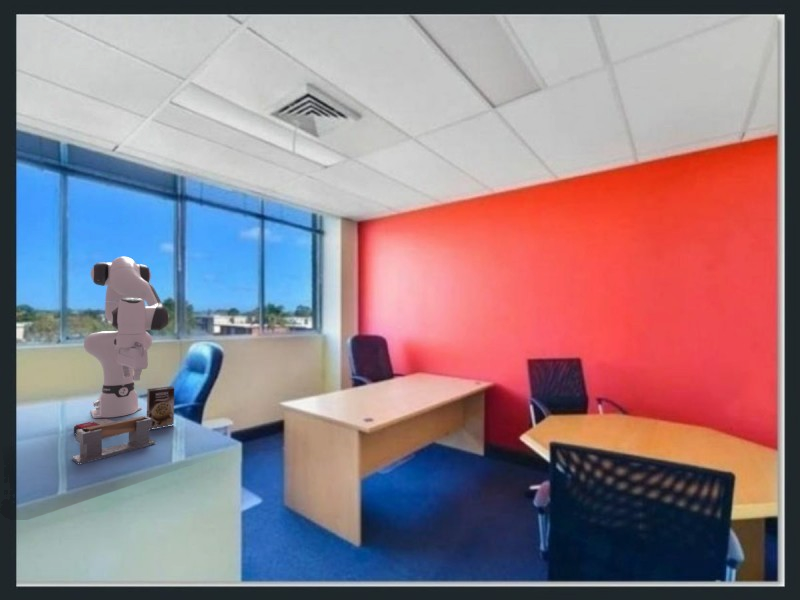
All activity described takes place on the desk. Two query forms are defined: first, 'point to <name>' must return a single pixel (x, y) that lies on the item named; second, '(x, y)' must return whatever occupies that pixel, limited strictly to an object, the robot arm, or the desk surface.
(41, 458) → the desk surface
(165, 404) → the coffee box
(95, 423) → the calculator
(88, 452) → the bracket
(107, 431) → the rail
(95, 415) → the robot arm
